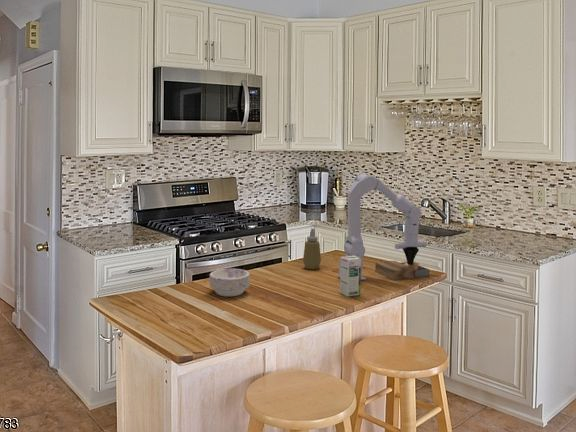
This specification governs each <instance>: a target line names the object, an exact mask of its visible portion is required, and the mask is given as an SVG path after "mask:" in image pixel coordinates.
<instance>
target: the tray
mask: <svg viewBox="0 0 576 432" xmlns="http://www.w3.org/2000/svg"><path fill="white" fill-rule="evenodd" d="M400 263H402V264H405V263H407V261H406V262H405V261H404V262H403V261H402V262H400ZM425 277H430V269H429V268H426V267H424V266H421V265H420V264H419V265H418V270H417V271H415V270H414V278H413V279H418V278H425Z"/></svg>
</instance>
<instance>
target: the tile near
mask: <svg viewBox="0 0 576 432" xmlns="http://www.w3.org/2000/svg"><path fill="white" fill-rule="evenodd" d="M418 265H419V266H420V263H419V262H416V261H415V260H414V261H413V265H409V264H408V266H409V267H411V268H413V269H414V270H415V271H417V270H418Z"/></svg>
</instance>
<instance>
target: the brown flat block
mask: <svg viewBox="0 0 576 432" xmlns="http://www.w3.org/2000/svg"><path fill="white" fill-rule="evenodd" d="M375 273H378V274H380V275H382V276H384V277H386V278H388V279H390V280H392V281H397V280H406V279H415V278H414V269H413V268H411V267H409V266H406V265H404V264H402V263H401V262H399V261H397V260H390V261H379V262H378V261H377V262H375Z"/></svg>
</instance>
